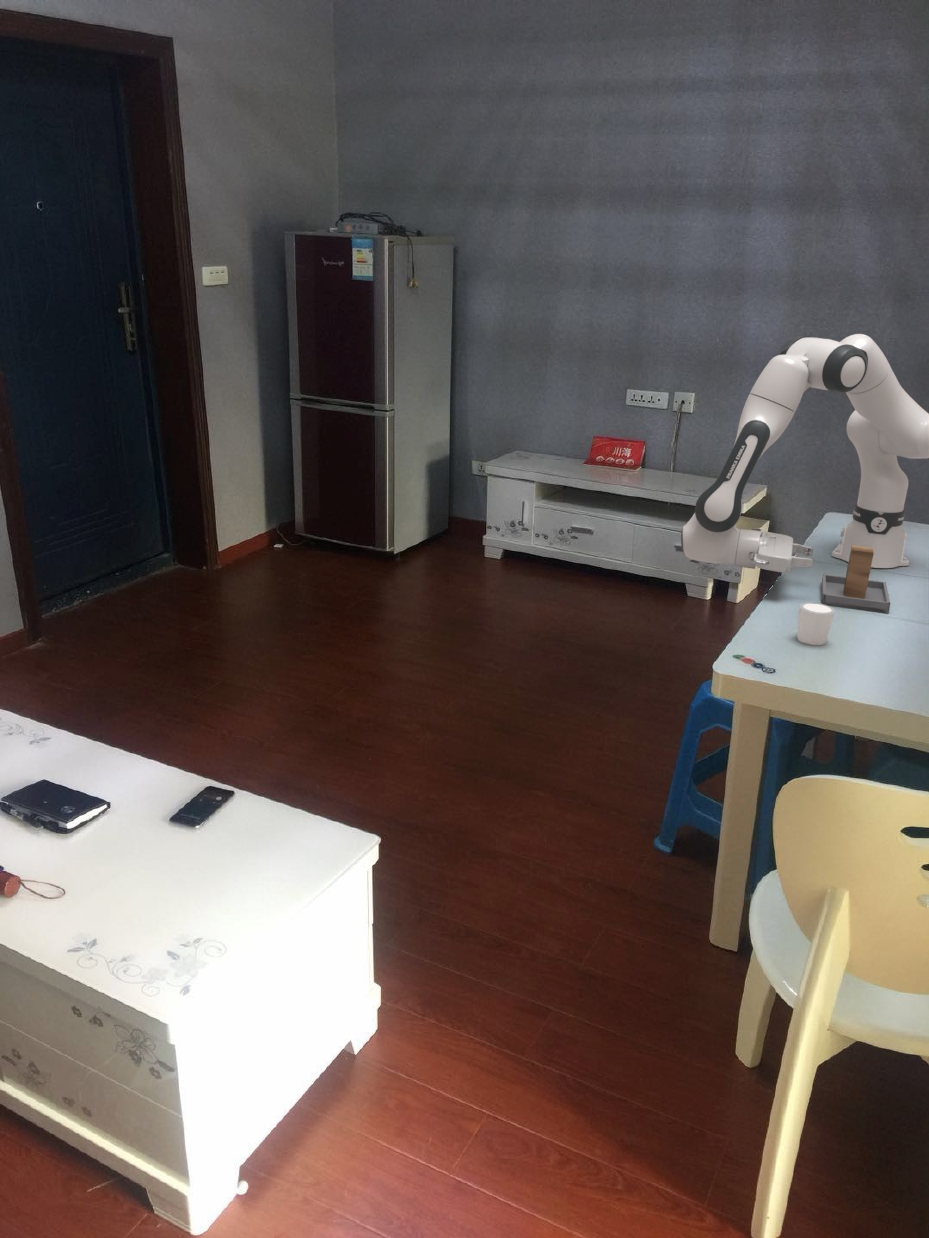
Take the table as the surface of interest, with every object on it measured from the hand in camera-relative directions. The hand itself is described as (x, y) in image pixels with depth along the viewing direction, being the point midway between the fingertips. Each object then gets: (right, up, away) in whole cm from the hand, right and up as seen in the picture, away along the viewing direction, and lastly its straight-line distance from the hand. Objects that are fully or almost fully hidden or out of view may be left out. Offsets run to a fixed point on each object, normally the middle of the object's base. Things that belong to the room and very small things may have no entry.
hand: (812, 557), depth 222 cm
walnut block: (+9, -9, 0) cm, 13 cm away
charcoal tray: (+9, -9, 0) cm, 13 cm away
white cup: (-9, -19, -25) cm, 33 cm away
